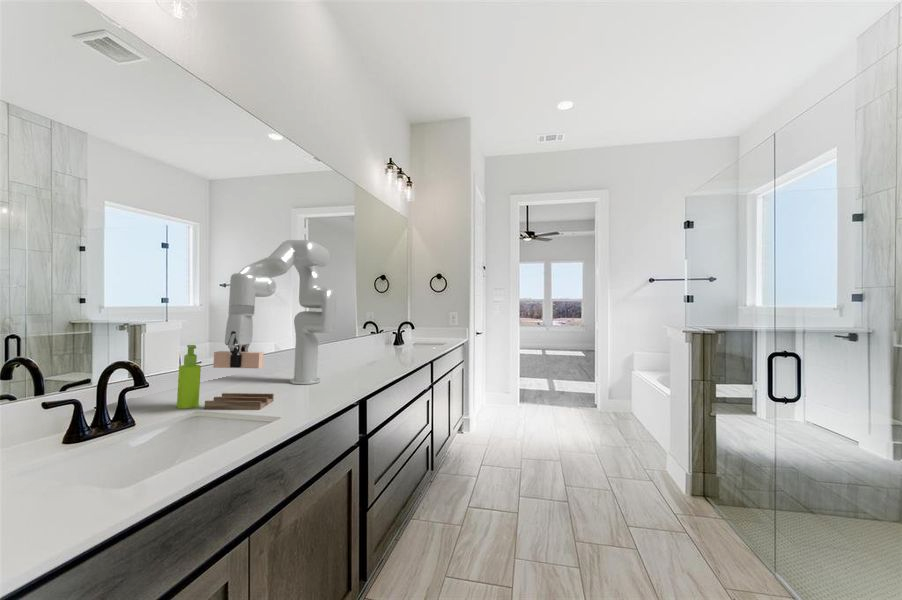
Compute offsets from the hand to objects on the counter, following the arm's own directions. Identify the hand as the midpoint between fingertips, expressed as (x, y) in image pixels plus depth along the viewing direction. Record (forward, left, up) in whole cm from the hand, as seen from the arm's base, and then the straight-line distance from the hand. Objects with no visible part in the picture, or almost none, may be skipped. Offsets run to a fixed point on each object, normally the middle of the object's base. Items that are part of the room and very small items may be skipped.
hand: (238, 365), depth 126 cm
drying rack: (-3, 0, -14) cm, 14 cm away
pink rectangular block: (0, 0, 0) cm, 0 cm away
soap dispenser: (0, -15, -14) cm, 20 cm away
